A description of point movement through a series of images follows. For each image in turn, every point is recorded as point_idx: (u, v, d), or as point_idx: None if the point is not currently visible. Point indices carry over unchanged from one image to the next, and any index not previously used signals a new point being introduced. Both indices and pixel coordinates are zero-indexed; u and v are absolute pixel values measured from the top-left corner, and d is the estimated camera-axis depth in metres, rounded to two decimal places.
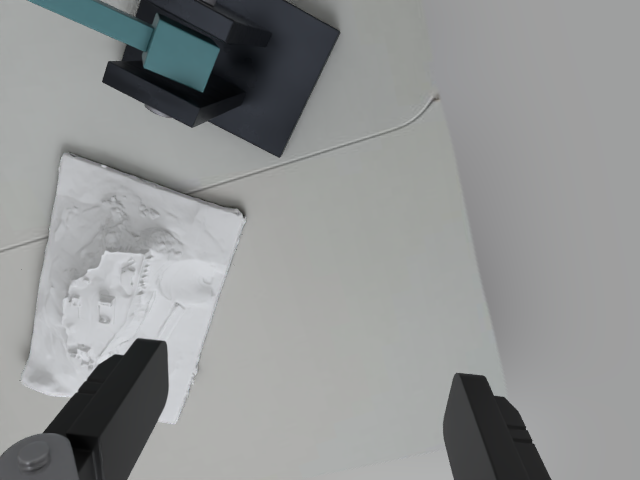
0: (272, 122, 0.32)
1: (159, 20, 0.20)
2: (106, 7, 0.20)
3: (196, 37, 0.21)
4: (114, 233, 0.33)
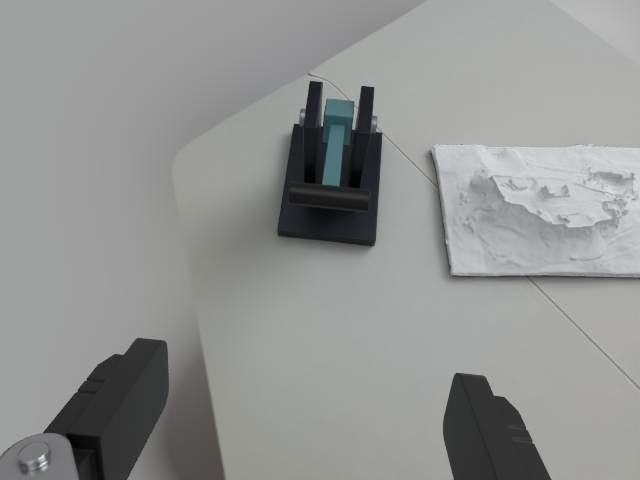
0: None
1: (324, 114, 0.35)
2: (329, 136, 0.34)
3: (326, 105, 0.36)
4: (490, 205, 0.42)
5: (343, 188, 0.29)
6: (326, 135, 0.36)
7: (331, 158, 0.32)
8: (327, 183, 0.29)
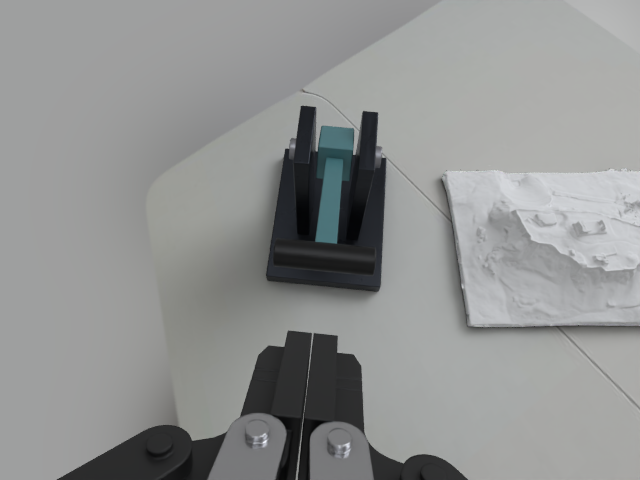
0: None
1: (319, 147, 0.29)
2: (324, 174, 0.28)
3: (320, 134, 0.30)
4: (513, 244, 0.36)
5: (342, 247, 0.23)
6: (321, 170, 0.30)
7: (327, 204, 0.26)
8: (322, 239, 0.24)
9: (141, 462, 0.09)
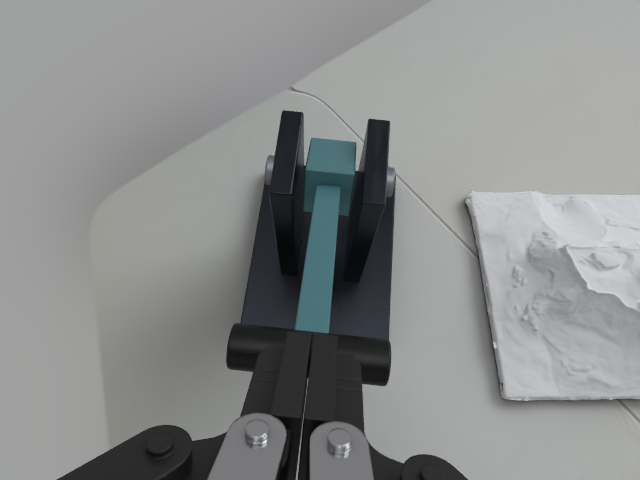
0: None
1: (306, 170, 0.20)
2: (313, 211, 0.19)
3: (309, 150, 0.22)
4: (563, 293, 0.28)
5: (337, 342, 0.14)
6: (310, 201, 0.22)
7: (315, 261, 0.17)
8: (305, 326, 0.15)
9: (141, 462, 0.09)
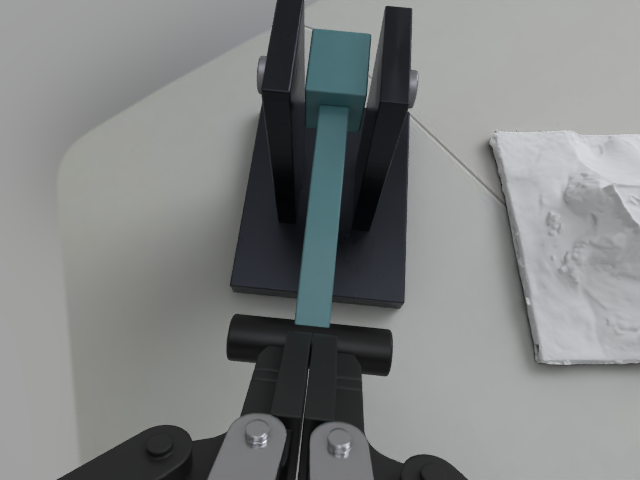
0: None
1: (306, 90, 0.17)
2: (315, 151, 0.16)
3: (310, 53, 0.17)
4: (609, 239, 0.23)
5: (337, 343, 0.14)
6: (313, 119, 0.18)
7: (317, 229, 0.15)
8: (305, 318, 0.14)
9: (141, 462, 0.09)
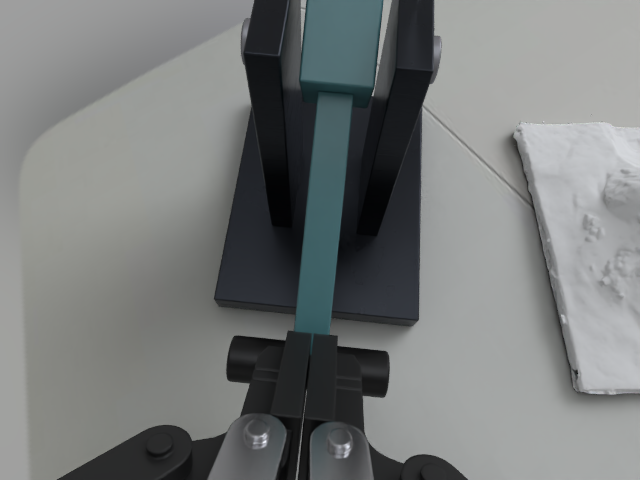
0: None
1: (300, 81, 0.14)
2: (312, 155, 0.14)
3: (305, 24, 0.13)
4: None
5: None
6: (311, 98, 0.15)
7: (314, 252, 0.14)
8: None
9: (141, 462, 0.09)
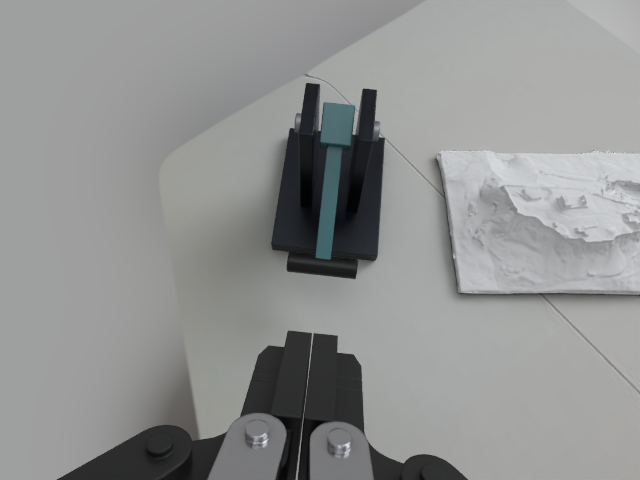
0: None
1: (320, 142, 0.32)
2: (324, 172, 0.33)
3: (322, 118, 0.32)
4: (501, 217, 0.39)
5: (333, 266, 0.33)
6: (324, 146, 0.34)
7: (325, 214, 0.33)
8: (320, 255, 0.33)
9: (141, 462, 0.09)
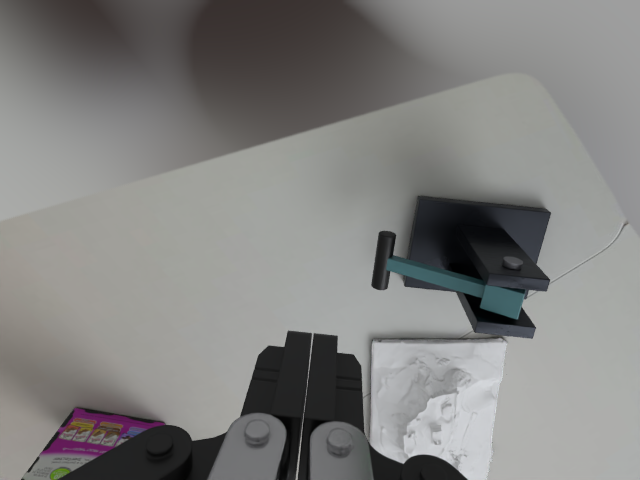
0: None
1: None
2: (460, 279, 0.37)
3: (508, 289, 0.35)
4: (429, 384, 0.48)
5: (379, 272, 0.40)
6: None
7: (423, 273, 0.38)
8: (389, 262, 0.39)
9: (141, 462, 0.09)
